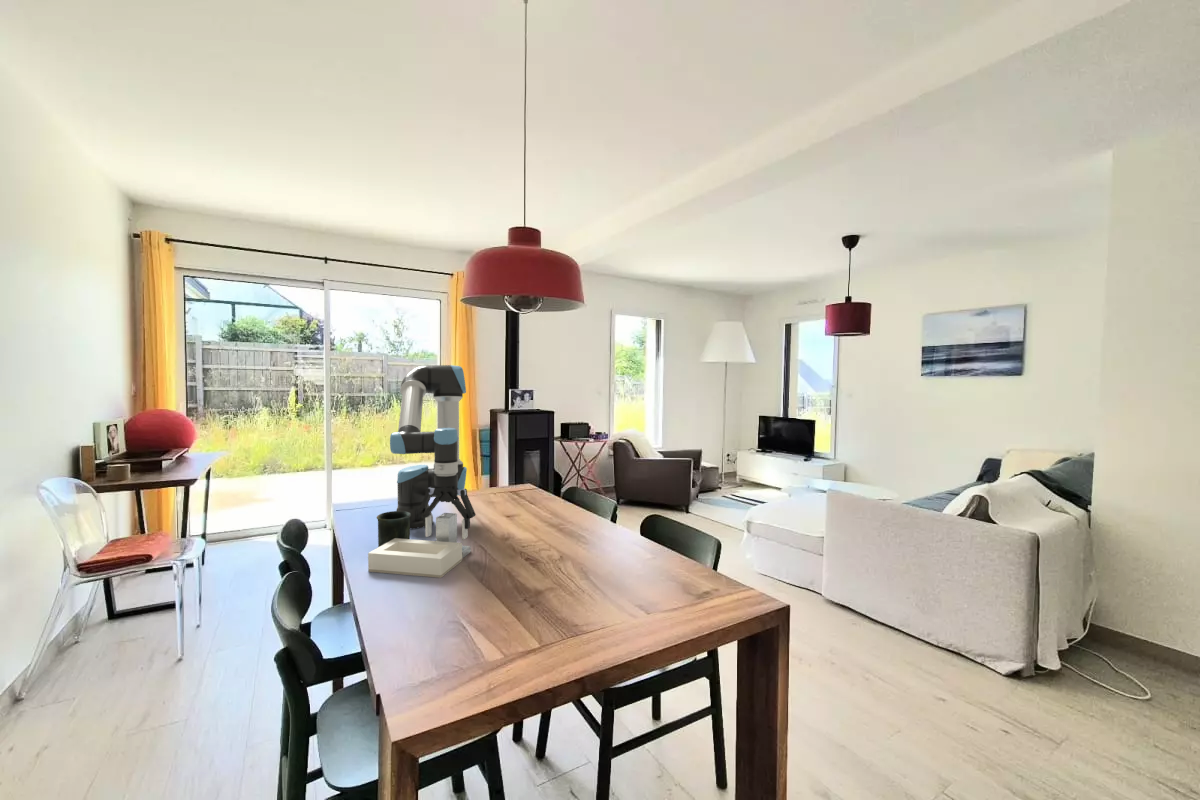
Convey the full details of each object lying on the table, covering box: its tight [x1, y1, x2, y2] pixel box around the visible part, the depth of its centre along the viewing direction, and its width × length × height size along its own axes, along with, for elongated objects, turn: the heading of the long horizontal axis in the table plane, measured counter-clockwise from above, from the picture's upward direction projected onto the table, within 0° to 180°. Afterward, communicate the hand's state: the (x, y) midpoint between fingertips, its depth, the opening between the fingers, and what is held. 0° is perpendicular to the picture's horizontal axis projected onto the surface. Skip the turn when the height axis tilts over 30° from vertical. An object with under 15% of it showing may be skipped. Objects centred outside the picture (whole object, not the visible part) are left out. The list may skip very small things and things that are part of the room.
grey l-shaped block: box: [435, 512, 472, 559], centre depth 165 cm, size 6×10×13 cm, turn 80°
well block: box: [367, 538, 463, 579], centre depth 155 cm, size 14×24×6 cm, turn 80°
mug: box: [376, 510, 411, 548], centre depth 170 cm, size 11×15×12 cm
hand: (446, 536), depth 166 cm, fingers open, 12 cm apart
